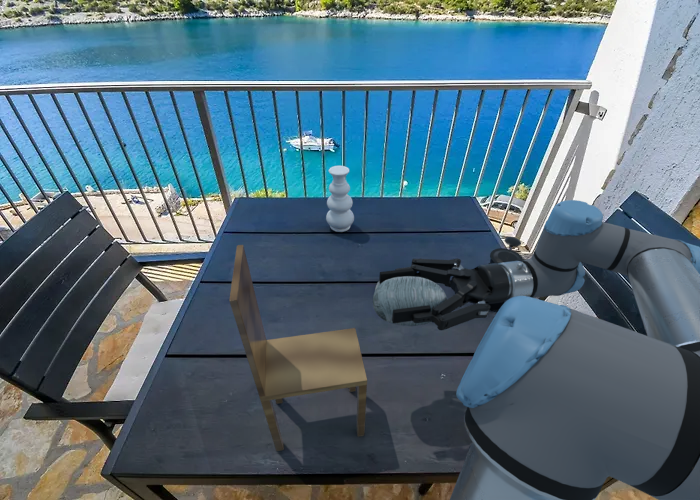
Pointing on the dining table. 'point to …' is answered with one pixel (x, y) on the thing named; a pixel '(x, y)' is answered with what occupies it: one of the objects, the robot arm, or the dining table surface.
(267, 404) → the wooden chair
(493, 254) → the french press
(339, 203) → the vase
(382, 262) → the dining table surface
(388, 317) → the grey streaked ellipsoid
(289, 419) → the dining table surface
